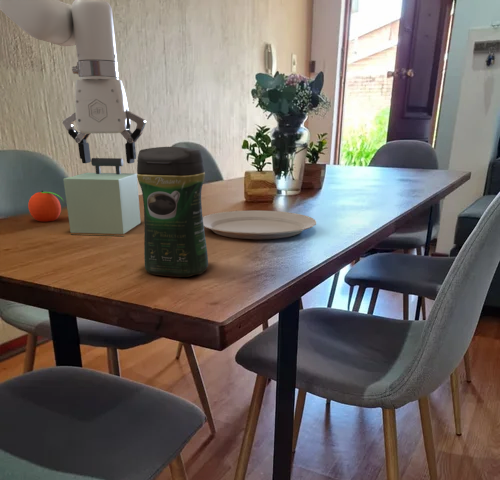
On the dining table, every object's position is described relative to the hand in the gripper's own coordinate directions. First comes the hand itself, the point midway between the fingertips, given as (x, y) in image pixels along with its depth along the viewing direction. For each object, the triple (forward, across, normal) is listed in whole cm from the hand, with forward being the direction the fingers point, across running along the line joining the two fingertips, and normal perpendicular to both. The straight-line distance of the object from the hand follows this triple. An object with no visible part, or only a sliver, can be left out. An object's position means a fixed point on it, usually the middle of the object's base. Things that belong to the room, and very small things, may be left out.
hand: (108, 162), depth 108 cm
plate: (+14, +32, 0) cm, 35 cm away
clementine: (+14, -16, +2) cm, 21 cm away
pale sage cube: (+6, 0, -10) cm, 12 cm away
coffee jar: (+14, +22, -34) cm, 42 cm away
